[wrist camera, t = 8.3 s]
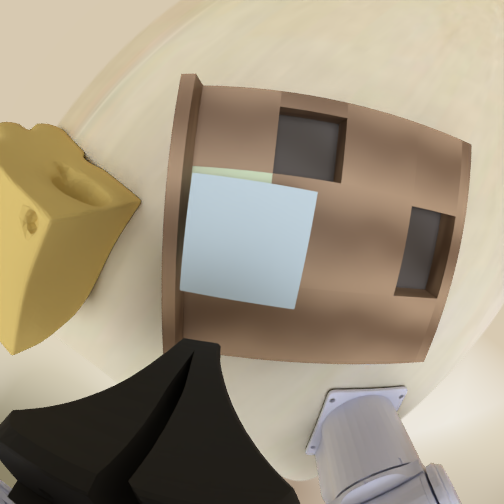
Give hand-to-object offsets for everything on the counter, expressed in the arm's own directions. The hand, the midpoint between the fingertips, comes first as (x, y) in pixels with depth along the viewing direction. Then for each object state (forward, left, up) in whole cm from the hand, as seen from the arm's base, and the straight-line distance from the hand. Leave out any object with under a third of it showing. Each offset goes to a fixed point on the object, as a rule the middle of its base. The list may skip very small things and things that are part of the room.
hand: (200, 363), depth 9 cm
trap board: (+4, -7, -10) cm, 13 cm away
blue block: (+4, -1, -8) cm, 9 cm away
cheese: (+3, +13, -10) cm, 17 cm away
